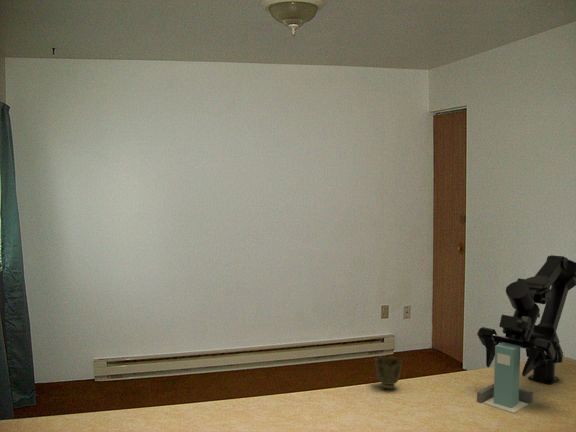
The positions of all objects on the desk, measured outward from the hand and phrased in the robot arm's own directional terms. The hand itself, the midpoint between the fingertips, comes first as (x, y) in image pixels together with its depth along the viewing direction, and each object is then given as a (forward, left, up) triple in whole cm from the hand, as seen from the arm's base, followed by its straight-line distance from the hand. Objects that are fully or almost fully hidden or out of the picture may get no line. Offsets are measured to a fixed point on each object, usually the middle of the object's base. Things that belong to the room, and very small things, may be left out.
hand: (504, 370), depth 137 cm
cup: (+13, -27, -9) cm, 31 cm away
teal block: (-1, 0, -9) cm, 9 cm away
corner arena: (-3, -1, -9) cm, 10 cm away
